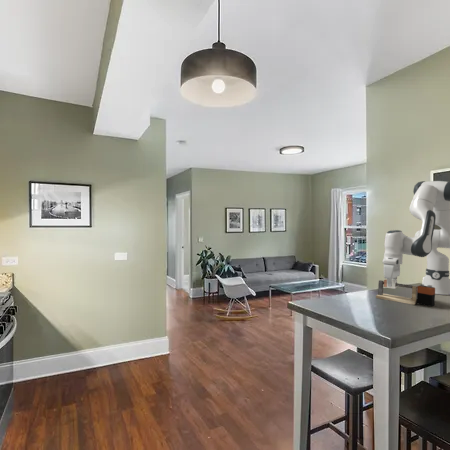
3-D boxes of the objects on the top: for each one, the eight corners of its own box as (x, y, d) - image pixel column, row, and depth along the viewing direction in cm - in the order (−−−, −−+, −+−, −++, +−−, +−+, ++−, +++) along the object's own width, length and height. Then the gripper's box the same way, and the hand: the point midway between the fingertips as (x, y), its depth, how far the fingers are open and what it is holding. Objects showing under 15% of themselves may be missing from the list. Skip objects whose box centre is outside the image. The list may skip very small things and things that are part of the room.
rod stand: (380, 295, 173) (381, 278, 173) (417, 301, 161) (418, 283, 162) (375, 297, 166) (376, 279, 166) (414, 304, 154) (415, 285, 154)
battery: (431, 306, 152) (432, 286, 152) (416, 303, 157) (417, 284, 157) (434, 305, 154) (435, 285, 154) (419, 302, 160) (420, 283, 160)
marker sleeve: (388, 286, 168) (388, 279, 168) (396, 287, 166) (397, 280, 166) (386, 287, 165) (386, 280, 165) (394, 288, 162) (395, 281, 162)
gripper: (391, 258, 175) (389, 282, 175) (381, 260, 160) (380, 286, 160) (403, 259, 171) (402, 284, 171) (395, 261, 156) (394, 289, 156)
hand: (391, 285), depth 165 cm, fingers open, 8 cm apart
